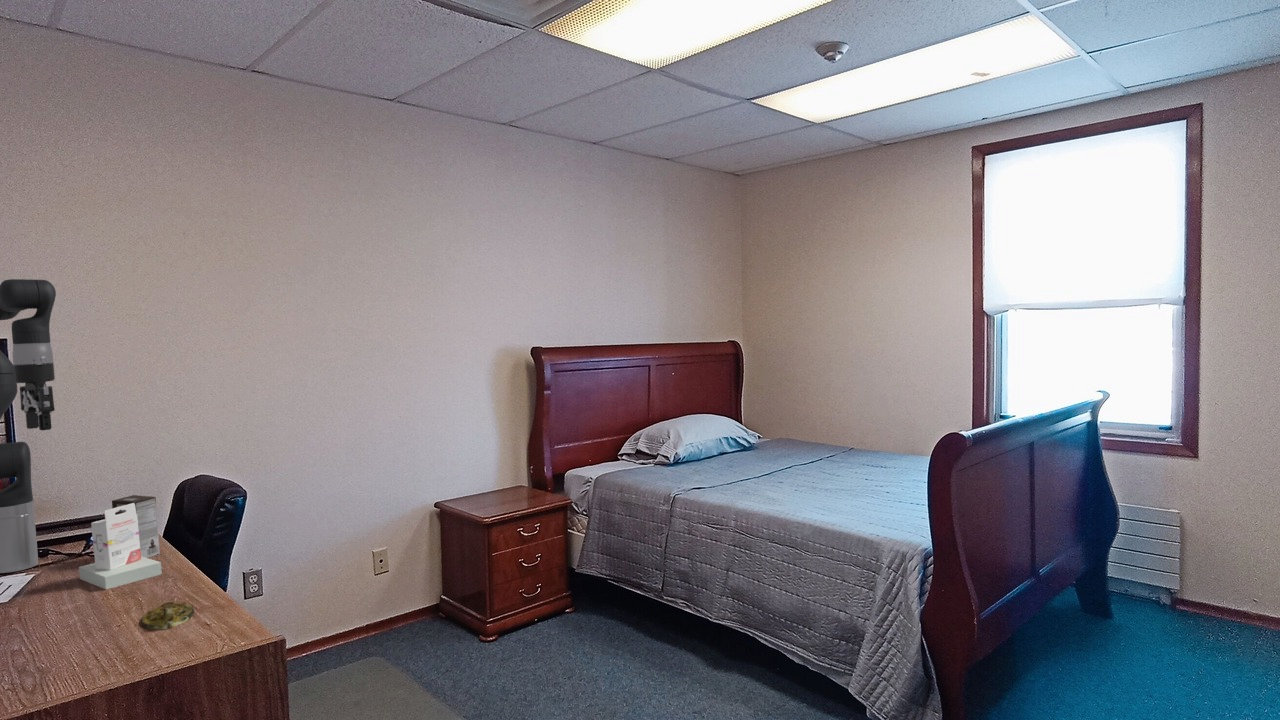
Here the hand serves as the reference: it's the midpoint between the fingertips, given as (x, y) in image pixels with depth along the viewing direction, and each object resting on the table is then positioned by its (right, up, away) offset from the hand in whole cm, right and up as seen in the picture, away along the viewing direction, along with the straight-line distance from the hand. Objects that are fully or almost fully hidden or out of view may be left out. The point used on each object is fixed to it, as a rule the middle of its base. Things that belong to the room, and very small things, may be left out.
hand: (39, 429), depth 179 cm
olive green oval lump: (+47, -38, -24) cm, 65 cm away
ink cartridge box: (+16, -34, +5) cm, 38 cm away
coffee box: (+9, -37, +22) cm, 44 cm away
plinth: (+16, -37, +5) cm, 41 cm away
